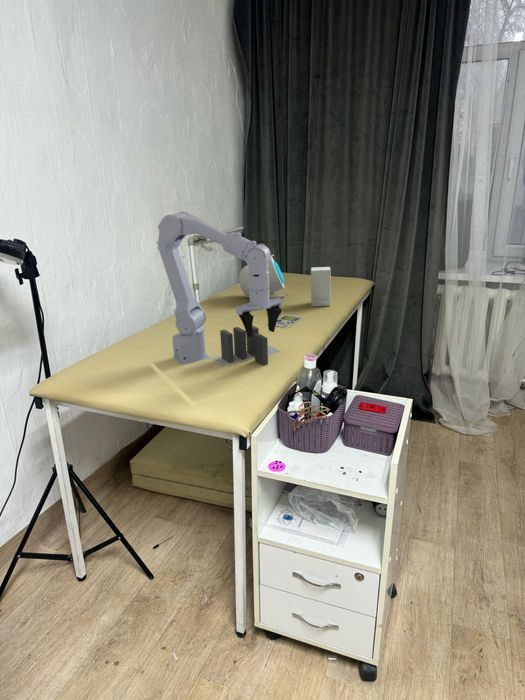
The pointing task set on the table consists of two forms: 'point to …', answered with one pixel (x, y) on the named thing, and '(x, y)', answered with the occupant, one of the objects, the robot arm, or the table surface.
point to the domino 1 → (227, 346)
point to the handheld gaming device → (288, 320)
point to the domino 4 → (261, 349)
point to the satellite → (274, 279)
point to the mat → (236, 359)
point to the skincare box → (320, 286)
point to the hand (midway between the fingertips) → (260, 333)
